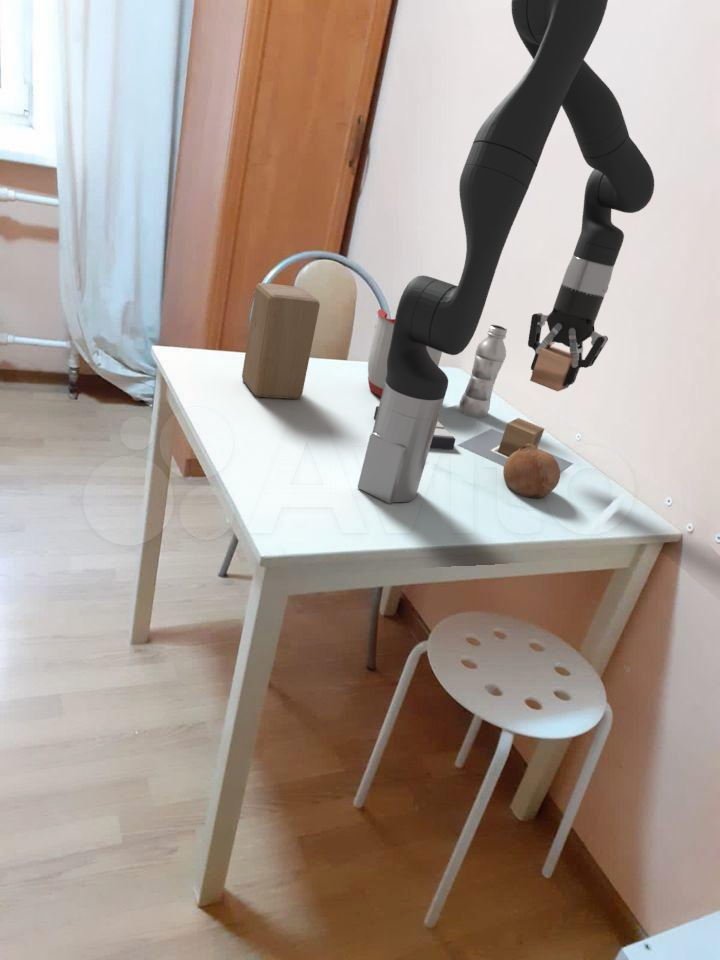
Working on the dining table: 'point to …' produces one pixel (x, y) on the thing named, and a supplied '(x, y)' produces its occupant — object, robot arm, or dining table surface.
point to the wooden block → (279, 340)
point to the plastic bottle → (484, 373)
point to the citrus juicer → (385, 353)
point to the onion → (531, 472)
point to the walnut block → (519, 436)
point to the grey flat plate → (489, 446)
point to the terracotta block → (551, 368)
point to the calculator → (437, 436)
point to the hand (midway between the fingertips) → (550, 379)
